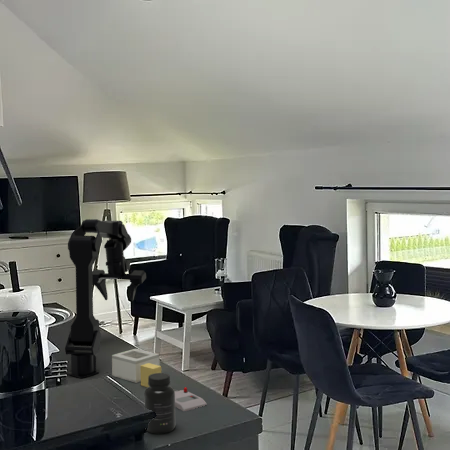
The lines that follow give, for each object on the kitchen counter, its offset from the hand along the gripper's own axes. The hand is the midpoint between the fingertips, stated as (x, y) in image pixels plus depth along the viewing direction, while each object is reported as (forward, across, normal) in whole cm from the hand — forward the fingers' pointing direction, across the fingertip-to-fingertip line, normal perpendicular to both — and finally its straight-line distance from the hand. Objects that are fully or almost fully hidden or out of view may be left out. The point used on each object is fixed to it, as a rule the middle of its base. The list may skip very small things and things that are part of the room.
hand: (119, 300), depth 211 cm
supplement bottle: (-1, -33, +71) cm, 78 cm away
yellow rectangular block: (+5, -23, +43) cm, 49 cm away
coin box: (+7, -16, +36) cm, 40 cm away
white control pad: (+4, -34, +54) cm, 64 cm away
